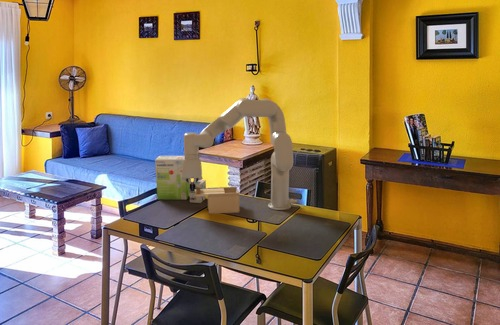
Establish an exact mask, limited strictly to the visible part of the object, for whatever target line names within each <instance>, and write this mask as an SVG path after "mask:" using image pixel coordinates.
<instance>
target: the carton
mask: <svg viewBox="0 0 500 325" xmlns="http://www.w3.org/2000/svg"><path fill="white" fill-rule="evenodd" d="M217 188H224V191H225V193H215V194H209V196H207V209H208V214H209V215H210V214H212V215H213V214H231V213H240V192H238V186H219V187H206V189H217Z"/></svg>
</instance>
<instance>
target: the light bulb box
mask: <svg viewBox="0 0 500 325" xmlns="http://www.w3.org/2000/svg"><path fill="white" fill-rule="evenodd" d="M191 182H192V191H191V189H190V184H189V190H190V195H189V202H190V203H194V204H195V203H196V204H197V203H198V204H201V203H202V202H203V201H205V200H206V199H207V196H196V197H195V189H196V184H200V189H207V185H206V184H207V183H206V179H204V180H203V179H202V180H198V181H197V182H196V184H195V189H194V191H193V181H191Z"/></svg>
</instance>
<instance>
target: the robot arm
mask: <svg viewBox="0 0 500 325" xmlns="http://www.w3.org/2000/svg"><path fill="white" fill-rule="evenodd" d="M245 117H251V118H267V121H268V125H269V134H270V135H269V136H270V138H269V139H270V143H271V145H272V146H273V149H274V151H273V152H272V154H271V156H270V168H271V169H270V170H271V176H270V177H271V178H270V180H271V182H270V202H269V203H268V204H267V207H268V208H269V209H271V210H274V211H284V210H290V209H291V207H292V204H297V203H298V200H297V199H293V198H291V199H290V197H289V188H290V170H291V169H292V167H294V147H293V140H292V137H291V136H290V134H288V133H287V125H286V119H285V115H284V112H283V109H282V108H281V107H280V106H279V105H278V104H277V103H276V102H275V101H273V100H271V99H269V98H261V99H248V98H246V97H242V98H240V99H238V100H237V101H236V102H235V103H233V104H232V105H231V106H230V107H229V108H227V109H226V110H225V111H224V112H223V113H222V114H221V115H219V116H218V117H217V118H215V119H214V120H213V121H212V122H210V124H208V125H207V126H206V127H205V128H204V129H203V130H202V131H200V133H197V132H185V133H184V134H183V151H184V152H183V156H184V159H183V163H182V180H184V181H187V182H188V183H189V184H190V189H191V191H192V182H193V191H194V189H195V184H196V182H197V181H198V180H203V171H202V170H203V169H202V160H201V158H202V155H203V154H202V153H200V150H199V149H200V148H203V149H207V148H210V147H212V146H213V145H214V139H216V138H217V137H218V136H219V135H221V134H222V133H223V132H225V131H228V130H231V129H233V127H235V126H236V125H237V124H238V123H239V122H240V121H241V120H242V119H244V118H245ZM200 157H201V158H200ZM192 179H193V181H192Z"/></svg>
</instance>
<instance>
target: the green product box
mask: <svg viewBox="0 0 500 325" xmlns="http://www.w3.org/2000/svg"><path fill="white" fill-rule="evenodd" d="M183 159H184V155H159V156H157V157H156V158H155V159H154V163H155V179H156V195H157V200H188V199H189V197H190V190H189V183H188V182H187V181H184V180H182V163H183Z"/></svg>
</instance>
